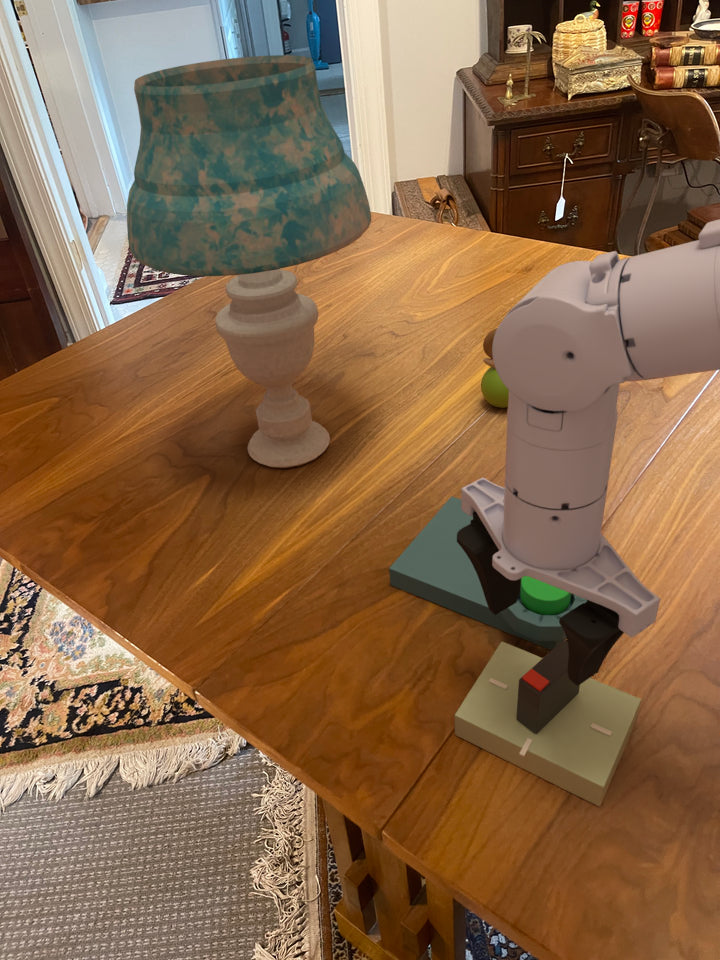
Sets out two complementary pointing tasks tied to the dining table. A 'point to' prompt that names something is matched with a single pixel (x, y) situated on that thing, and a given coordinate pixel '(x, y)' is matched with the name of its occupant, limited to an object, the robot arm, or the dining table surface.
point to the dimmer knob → (545, 689)
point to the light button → (543, 597)
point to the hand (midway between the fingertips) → (541, 638)
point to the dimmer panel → (549, 727)
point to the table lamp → (248, 216)
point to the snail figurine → (493, 377)
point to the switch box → (466, 581)
